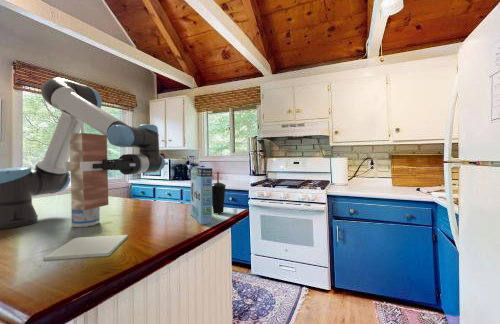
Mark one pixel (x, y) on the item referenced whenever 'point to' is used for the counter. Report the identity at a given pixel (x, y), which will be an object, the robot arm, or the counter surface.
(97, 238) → the mat
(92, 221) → the supplement tub
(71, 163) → the wooden block tower
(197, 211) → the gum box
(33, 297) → the counter surface
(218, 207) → the drinking cup
